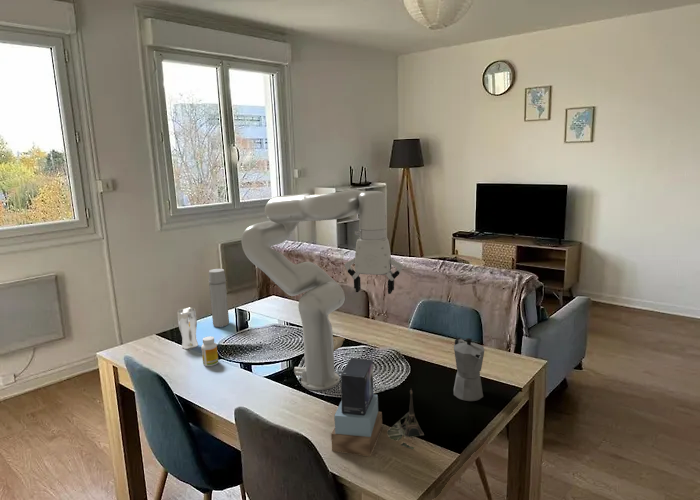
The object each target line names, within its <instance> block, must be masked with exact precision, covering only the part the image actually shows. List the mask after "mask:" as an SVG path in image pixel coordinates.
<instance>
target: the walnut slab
mask: <svg viewBox="0 0 700 500" xmlns="http://www.w3.org/2000/svg"><path fill="white" fill-rule="evenodd" d="M382 429H383V412H382V411H378V414H377V417H376V421H375V424H374V427H373V431H372V434H371V437H365V436H354V435H343V434H335V427H334V428H333V430H332V432H331V433H330V436H331V451H332V452H337V453H345V454H350V455H355V456H357V455H358V456H361V457H362V456H363V457H368V458H369V457H371V456H372V453H373V452H374V449H375V447H376V444H377V441H378V439H379V438H380V435H381V431H382Z"/></svg>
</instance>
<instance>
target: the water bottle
mask: <svg viewBox="0 0 700 500" xmlns="http://www.w3.org/2000/svg"><path fill="white" fill-rule="evenodd" d="M207 282H208V286H209V296H210V304H211V305H210V307H211V308H210V309H211V317H212V325H213V327H215V328H224V327H226V326H228V325H229V324H230V317H229V307H228V296H227V284H226V282H227V279H226V274H225V269H223V268H214V269H209V271H208V281H207Z"/></svg>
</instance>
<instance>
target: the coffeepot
mask: <svg viewBox="0 0 700 500" xmlns="http://www.w3.org/2000/svg"><path fill="white" fill-rule="evenodd" d="M472 339H473V338H466V342H465V340H463V339H462V338H461V337H456V339H455V340H454V344H453V350H454V351H453V352H454V358H455V365H456V370H457V372H456V375H455V380H454V384H453V385H454V386H453V396H454V397H456V398H457V399H459V400H461V401H464V402H475V401H476V402H477V401H479V400H481V399H482V398H484V393H483V386H482V379H481V373H480V372H481V371H482V366H483V361H484V357H485V356H484V355H485V348H484V345H481V344H478V343H477V342H472V341H473V340H472Z"/></svg>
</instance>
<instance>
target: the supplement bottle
mask: <svg viewBox="0 0 700 500" xmlns="http://www.w3.org/2000/svg"><path fill="white" fill-rule="evenodd" d="M200 348H201V358H202V364H203V366H205V367H213V366H216V365H218V363H219V354H218V352H219V351H218V345H217V343H216V342H215V337H214V336H210V335H209V336H205V337H203V338H202V345H201V347H200Z"/></svg>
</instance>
